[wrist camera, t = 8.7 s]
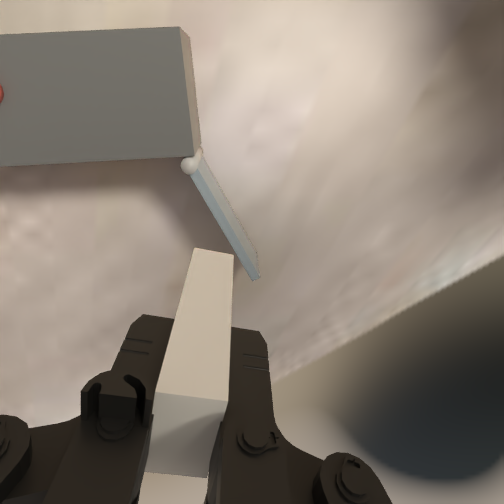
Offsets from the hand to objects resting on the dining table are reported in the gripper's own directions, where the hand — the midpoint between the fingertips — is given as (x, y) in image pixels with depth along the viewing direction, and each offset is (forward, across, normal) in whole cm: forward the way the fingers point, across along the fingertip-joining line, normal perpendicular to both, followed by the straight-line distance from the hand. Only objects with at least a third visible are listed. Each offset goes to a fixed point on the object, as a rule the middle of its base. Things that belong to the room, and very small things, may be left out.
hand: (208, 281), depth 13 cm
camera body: (+20, -11, +3) cm, 23 cm away
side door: (+20, +1, -4) cm, 21 cm away
